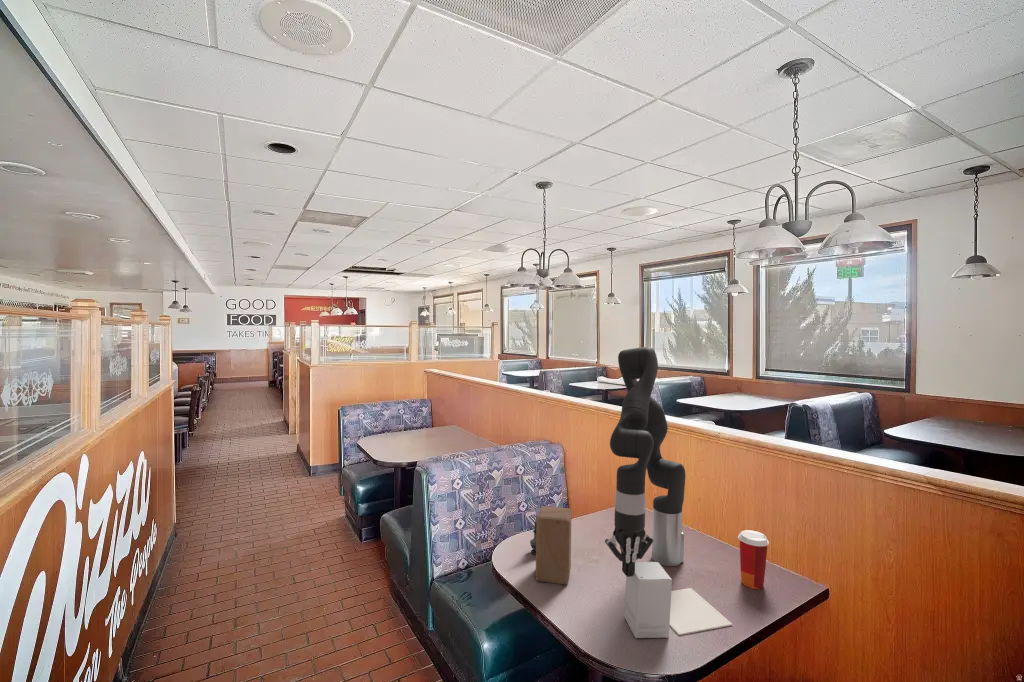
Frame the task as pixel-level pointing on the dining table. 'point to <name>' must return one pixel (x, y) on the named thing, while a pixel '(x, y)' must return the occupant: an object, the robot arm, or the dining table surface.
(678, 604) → the mat
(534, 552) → the salt shaker
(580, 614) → the dining table surface
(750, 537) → the coffee cup
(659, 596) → the supplement box
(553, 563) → the wooden block
